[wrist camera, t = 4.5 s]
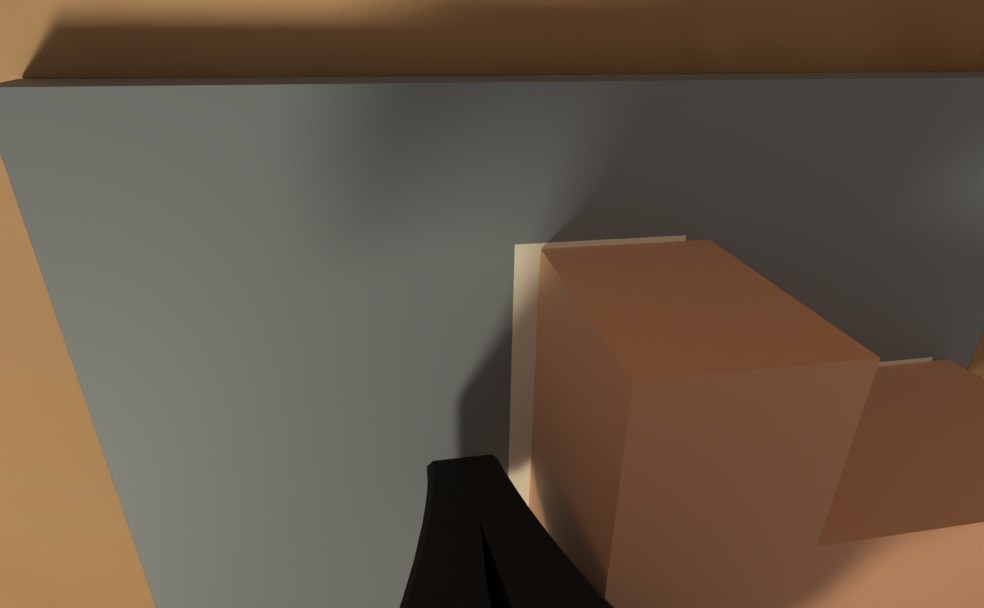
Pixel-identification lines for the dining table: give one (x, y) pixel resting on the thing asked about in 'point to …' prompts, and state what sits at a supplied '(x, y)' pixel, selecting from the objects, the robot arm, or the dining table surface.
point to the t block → (744, 443)
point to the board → (435, 274)
